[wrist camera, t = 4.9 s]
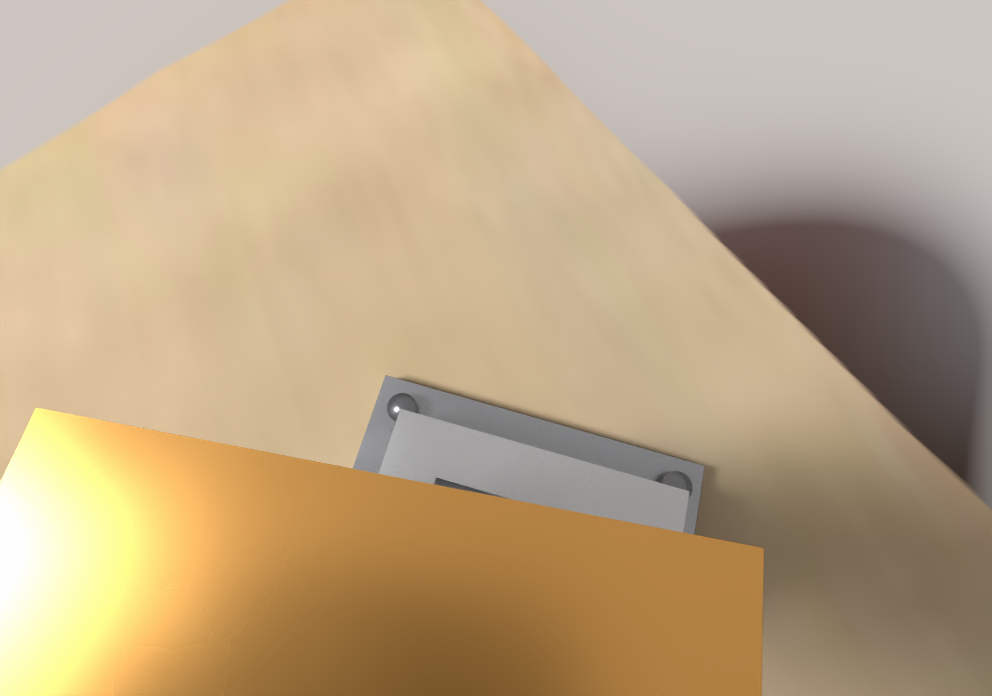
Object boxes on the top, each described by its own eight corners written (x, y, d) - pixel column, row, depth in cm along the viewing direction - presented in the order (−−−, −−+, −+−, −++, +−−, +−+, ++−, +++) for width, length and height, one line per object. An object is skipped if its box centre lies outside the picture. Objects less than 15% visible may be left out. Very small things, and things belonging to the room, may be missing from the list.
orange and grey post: (496, 669, 13) (743, 1981, 1) (348, 641, 13) (-589, 1724, 1) (521, 514, 15) (763, 548, 3) (386, 488, 15) (36, 409, 3)
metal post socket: (636, 856, 18) (672, 934, 15) (261, 741, 18) (218, 793, 15) (696, 467, 22) (734, 461, 19) (388, 379, 22) (375, 360, 19)
